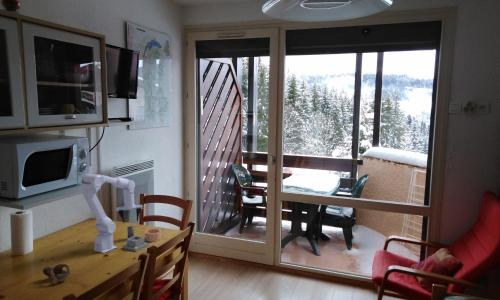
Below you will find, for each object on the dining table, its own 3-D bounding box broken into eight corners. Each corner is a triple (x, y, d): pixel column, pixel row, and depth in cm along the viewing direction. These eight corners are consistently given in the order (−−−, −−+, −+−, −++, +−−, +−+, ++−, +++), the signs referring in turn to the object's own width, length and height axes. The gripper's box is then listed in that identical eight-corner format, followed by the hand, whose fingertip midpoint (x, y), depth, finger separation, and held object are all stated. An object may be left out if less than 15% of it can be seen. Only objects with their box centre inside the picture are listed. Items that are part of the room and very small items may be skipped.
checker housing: (135, 251, 200) (135, 242, 200) (122, 248, 205) (122, 239, 205) (148, 245, 209) (148, 237, 209) (135, 242, 214) (135, 234, 213)
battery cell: (130, 240, 217) (130, 227, 216) (126, 239, 219) (126, 226, 218) (135, 238, 221) (135, 225, 220) (130, 237, 222) (130, 224, 221)
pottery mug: (72, 274, 174) (74, 263, 170) (65, 291, 166) (66, 280, 162) (46, 269, 171) (46, 257, 167) (36, 286, 164) (37, 275, 159)
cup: (153, 242, 214) (153, 234, 213) (142, 240, 218) (142, 232, 217) (163, 238, 221) (163, 230, 221) (152, 235, 225) (152, 227, 225)
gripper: (141, 196, 222) (143, 217, 224) (116, 198, 218) (118, 220, 221) (141, 199, 215) (143, 221, 218) (115, 202, 212) (117, 224, 214)
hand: (130, 221), depth 219 cm, fingers open, 7 cm apart
